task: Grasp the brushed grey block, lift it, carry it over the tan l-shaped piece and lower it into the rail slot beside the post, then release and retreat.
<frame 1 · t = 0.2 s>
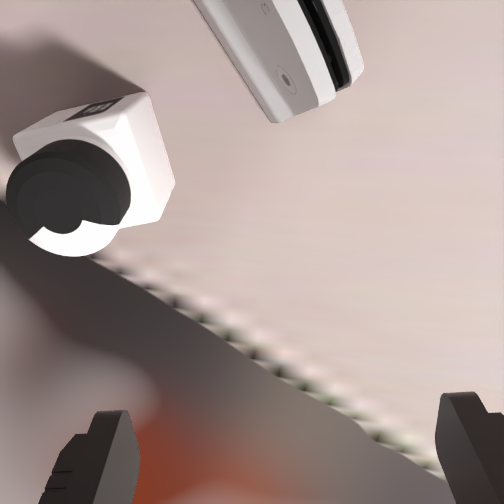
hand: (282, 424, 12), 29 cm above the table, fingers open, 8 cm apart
container: (118, 148, 38), on the table
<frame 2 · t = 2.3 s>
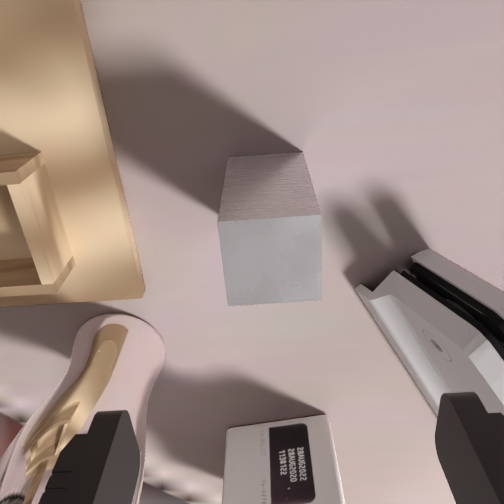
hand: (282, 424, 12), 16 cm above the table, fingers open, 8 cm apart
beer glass: (121, 346, 32), on the table
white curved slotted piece: (458, 342, 32), on the table
brushed grey block: (267, 189, 26), on the table
container: (285, 450, 37), on the table
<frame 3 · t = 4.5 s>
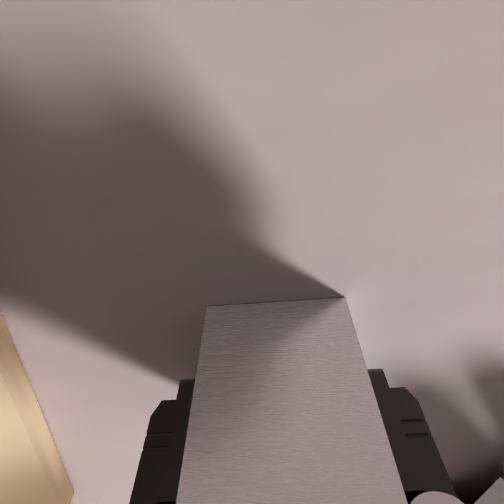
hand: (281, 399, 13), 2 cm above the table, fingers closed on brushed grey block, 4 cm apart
brushed grey block: (279, 355, 14), on the table, touching gripper
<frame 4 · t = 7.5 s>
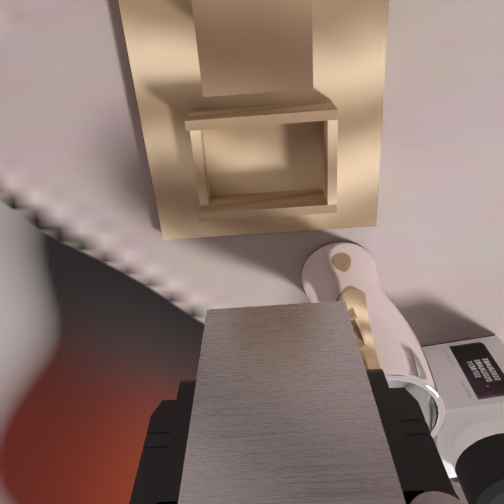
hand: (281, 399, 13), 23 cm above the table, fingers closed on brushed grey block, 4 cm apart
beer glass: (338, 273, 38), on the table
brushed grey block: (279, 358, 15), point 21 cm above the table, touching gripper
container: (452, 371, 43), on the table
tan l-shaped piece: (261, 122, 32), on the table
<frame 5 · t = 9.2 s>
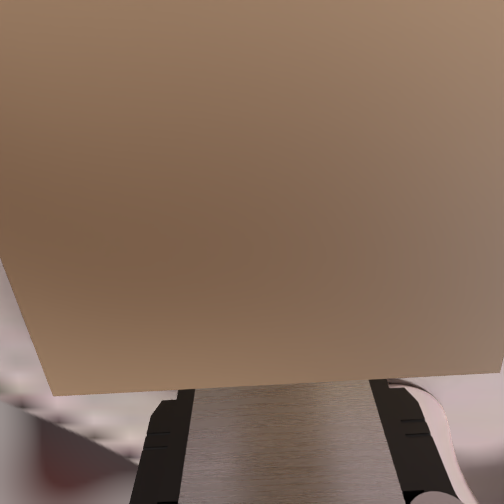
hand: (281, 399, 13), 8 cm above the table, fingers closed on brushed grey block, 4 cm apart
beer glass: (384, 422, 25), on the table
brushed grey block: (279, 359, 15), point 6 cm above the table, touching gripper
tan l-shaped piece: (267, 211, 19), on the table
when the fingers open (4 cm above the table, at t = 10.5 s): brushed grey block drops 1 cm, resting on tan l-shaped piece.
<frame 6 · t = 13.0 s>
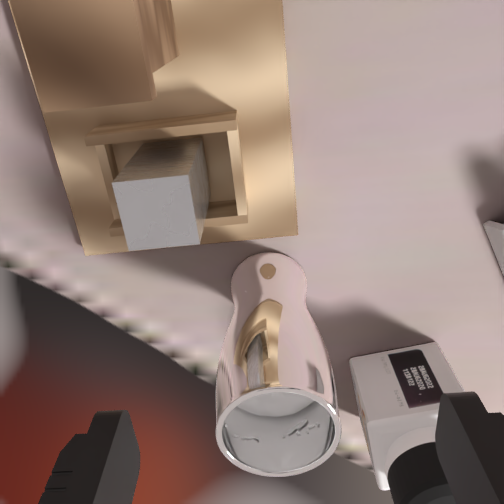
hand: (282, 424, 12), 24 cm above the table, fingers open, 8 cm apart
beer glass: (268, 283, 38), on the table
brushed grey block: (177, 169, 32), point 1 cm above the table, touching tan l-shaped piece
container: (395, 379, 43), on the table
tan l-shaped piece: (172, 135, 32), on the table
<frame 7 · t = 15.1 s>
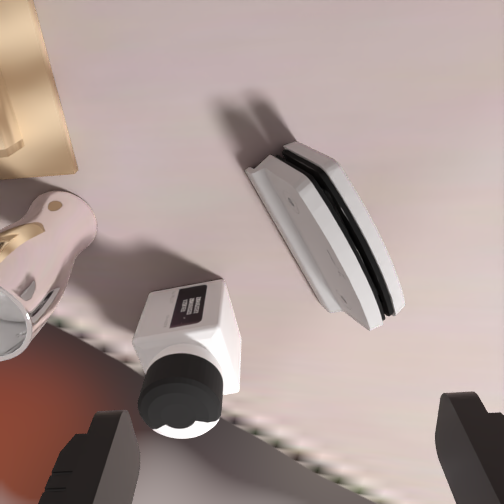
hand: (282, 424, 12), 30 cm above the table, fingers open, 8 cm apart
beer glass: (64, 220, 43), on the table
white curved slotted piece: (323, 223, 43), on the table
container: (196, 314, 48), on the table
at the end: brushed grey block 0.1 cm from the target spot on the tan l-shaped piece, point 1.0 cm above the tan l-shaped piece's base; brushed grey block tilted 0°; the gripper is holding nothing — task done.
